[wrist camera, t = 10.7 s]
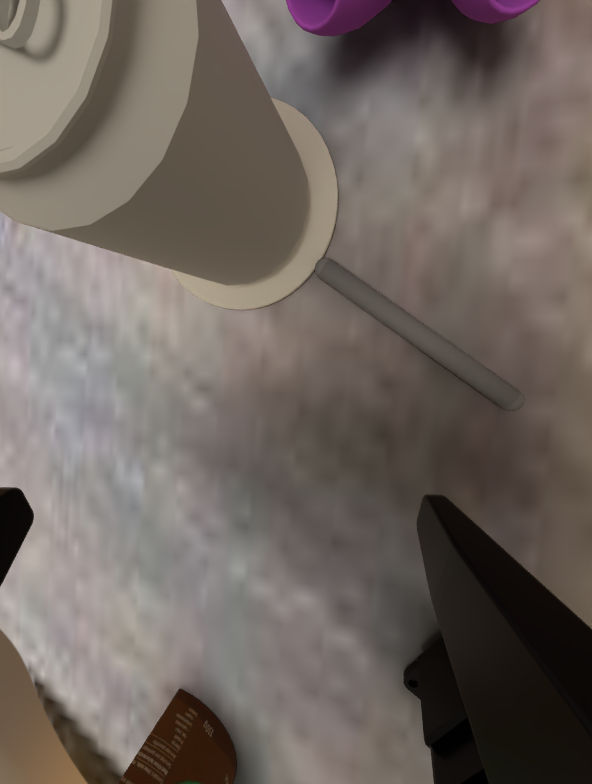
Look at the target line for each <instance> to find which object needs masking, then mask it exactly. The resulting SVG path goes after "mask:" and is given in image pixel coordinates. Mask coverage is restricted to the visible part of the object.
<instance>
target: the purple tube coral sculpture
mask: <svg viewBox="0 0 592 784" xmlns="http://www.w3.org/2000/svg"><path fill="white" fill-rule="evenodd" d="M391 1H392V0H286V2H287V5H288V9H289V11H290V13H291V15H292V17H293V18H294V20H295V22H296V23H297V24H298V25H299V26H300V27H301V28H302V29H303V30H305V31H307V32H310V33H313V34H316V35H320V36H337V35H341V34H344V33H347V32H350V31H353V30H356V29H359V28H360V27H362V26H363V25H364V24H366V23H367V22H368V21H369V20H371V19H372V18H373V17H374V16H376V15H377V14H378V13H379V12H381V11H382V10H383V9H384V8H386V7H387V6H388V5H389V4H390V3H391ZM539 1H540V0H452V2H453V3H454V4H455V6H456V7H457V8H458V9H459V11H460V12H462V13H463V14H464V15H466V16H467V17H468V18H470V19H473V20H476V21H479V22H484V23H490V24H494V23H497V22H501V21H505V20H509V19H512V18H516V17H517V16H519V15H520V14H522V13H524V12H525V11H527V10H528V9H530V8H531V7H533V6H534V5H536V4H537V3H538V2H539Z"/></svg>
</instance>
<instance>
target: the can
mask: <svg viewBox="0 0 592 784" xmlns="http://www.w3.org/2000/svg"><path fill="white" fill-rule="evenodd" d="M308 207H309V206H308V179H307V176H306V173H305V170H304V167H303V164H302V161H301V158H300V155H299V153H298V151H297V149H296V147H295V145H294V143H293V141H292V139H291V137H290V135H289V133H288V131H287V129H286V127H285V125H284V123H283V121H282V119H281V117H280V115H279V113H278V111H277V109H276V107H275V105H274V103H273V101H272V99H271V97H270V95H269V93H268V92H267V90H266V88H265V86H264V84H263V82H262V80H261V78H260V76H259V74H258V72H257V70H256V68H255V66H254V64H253V62H252V60H251V58H250V56H249V54H248V52H247V50H246V48H245V46H244V44H243V42H242V40H241V38H240V36H239V34H238V32H237V30H236V28H235V26H234V24H233V22H232V20H231V18H230V16H229V14H228V12H227V11H226V9H225V7H224V5H223V3H222V1H221V0H0V211H1V212H2V213H4V214H5V215H6V216H8V217H9V218H11V219H12V220H13V221H16V222H19V223H22V224H25V225H29V226H32V227H35V228H38V229H42V230H45V231H48V232H52V233H55V234H58V235H61V236H65V237H68V238H71V239H74V240H78V241H81V242H84V243H87V244H91V245H94V246H97V247H100V248H104V249H107V250H110V251H113V252H117V253H120V254H123V255H126V256H130V257H133V258H136V259H140V260H143V261H146V262H149V263H153V264H156V265H159V266H162V267H166V268H169V269H172V270H175V271H179V272H182V273H185V274H188V275H192V276H195V277H198V278H201V279H205V280H208V281H212V282H215V283H219V284H223V285H226V286H229V285H240V284H249V283H252V282H254V281H256V280H258V279H260V278H262V277H265V276H267V275H269V274H270V273H272V272H273V271H274V270H275V269H276V268H277V267H278V266H279V265H280V264H281V263H282V262H283V261H285V260H286V259H287V258H288V257H289V255H290V253H291V251H292V250H293V248H294V246H295V245H296V243H297V241H298V239H299V238H300V236H301V234H302V231H303V227H304V223H305V219H306V215H307V211H308Z"/></svg>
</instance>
